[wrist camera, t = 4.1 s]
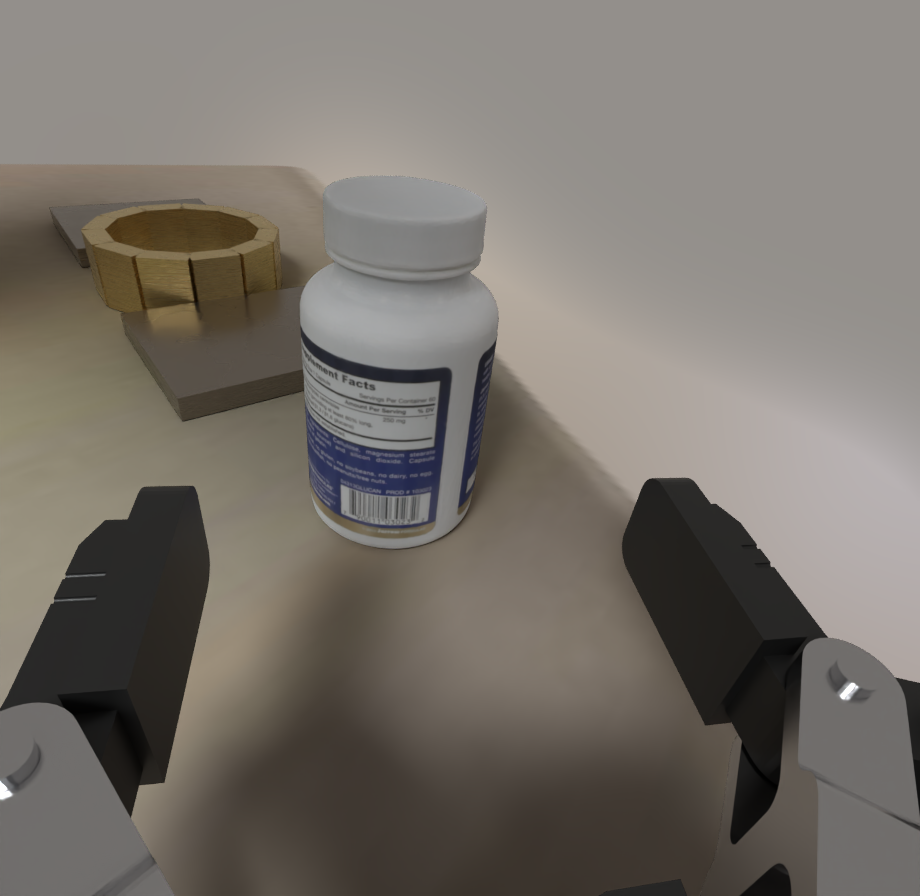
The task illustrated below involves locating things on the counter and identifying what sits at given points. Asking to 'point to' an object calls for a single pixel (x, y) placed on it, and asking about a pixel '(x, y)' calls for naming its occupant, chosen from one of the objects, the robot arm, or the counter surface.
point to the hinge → (195, 297)
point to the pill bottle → (397, 359)
